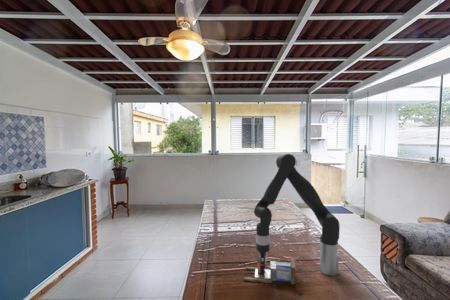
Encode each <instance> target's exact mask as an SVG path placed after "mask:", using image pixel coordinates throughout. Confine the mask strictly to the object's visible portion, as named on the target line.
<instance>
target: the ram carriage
mask: <svg viewBox="0 0 450 300" xmlns="http://www.w3.org/2000/svg"><path fill="white" fill-rule="evenodd" d="M256 261H257V268H258V269H255V270H254V278H259V279H269V280H272V282H277V280H276V262H277V261H275V260H270V264H269V265H270V266H269V267H270V268H269V269H270V270H266V269H265V275H261V269H260V258H259V256H258V257H257V260H256ZM261 266H263V264H261Z"/></svg>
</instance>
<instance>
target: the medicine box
mask: <svg viewBox="0 0 450 300" xmlns="http://www.w3.org/2000/svg"><path fill="white" fill-rule="evenodd" d="M278 281H279V282H287V283H288V282H289V283H291V263H290V262H287V261H286V262H285V261H276V282H278Z"/></svg>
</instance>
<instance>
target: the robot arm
mask: <svg viewBox="0 0 450 300" xmlns="http://www.w3.org/2000/svg"><path fill="white" fill-rule="evenodd" d="M275 163H276V167H277V168H278V169H277V172H276V174H275V176H274V177H273V179H272V180H271V181H270V183H269V184H268V186H267V188H266V189H265V192H264V194H263V197H262V198H260V200H259V201H258V202H257V204H256V206H255V208H254V211H253V213H254V215H255V217H257V218H259V220H260V221H259V222H258V223H257V224H256V226H255V227H256V228H255V229H256V234H255V244H256V245H255V249H256V251H257V252H258V257H259V258H260V269H261V275H265V268H266V263H267V254H268V253H269V252H270V250H271V245H270V244H271V241H270V240H271V239H270V238H271V237H270V226H271V222H272V216H273V215H272V210H271V209H270V208H269V206H270V205H274V204H275V203H276V200H277V199H278V196H279V194H280V191H281V190H282V188H283V185H284V183H285V182H286V180H288V181H289V182H290V184H291V186H292V187H293V188H294V190H295V191H296V193H297V194H298V196H299V197H300V198H301V200H302V201H303V202H304V203H305V204H306V206H307V207H309V209H310V210H311V211H312V212H313V213H314V215H315V218H316V219H317V221H318V223H319V225H320V226H321V235H320V237H319V238H320V239H319V242H320V243H319V271H320V272H321V273H322V274H324V275H327V276H336V275H337V276H338V275H339V267H340V266H339V265H340V264H339V259H340V258H339V256H338V253H339V252H338V243H339V239H340V227H341V226H340V221H339V219H338V218H337V217H336V216H335V215H334V214H332V213H331V212H330V211H329V210H328V208H327V207H326V206H325V205H324V202H323V201H322V200H321V197H320V195H319V194H318V191H316V189H315V188H314V186H313V185H312V184H311V182H310V181H308V179H306V178H305V177H304V176H303V175H302V174H301V173H300V172H299V171H298V170H297V169H296V167H295V166H296V163H297V160H296V158H295V156H294V155H293V154H290V153H283V154H281V155H279V156H277V158H276V162H275ZM261 264H263V266H261Z"/></svg>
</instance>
